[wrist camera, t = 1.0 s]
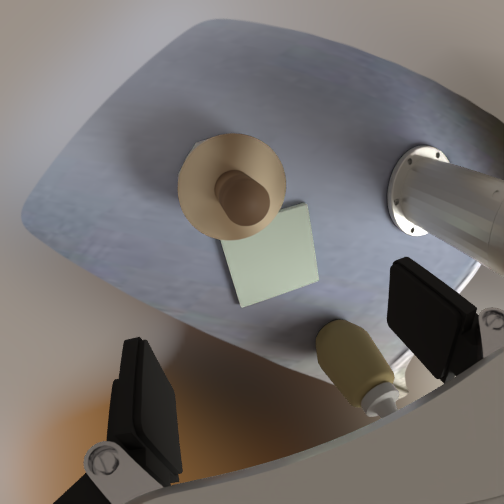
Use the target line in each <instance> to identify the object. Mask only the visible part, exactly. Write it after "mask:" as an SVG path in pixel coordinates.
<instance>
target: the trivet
mask: <svg viewBox="0 0 504 504" xmlns="http://www.w3.org/2000/svg"><path fill="white" fill-rule="evenodd" d="M220 241H221V244H222V247H223V251H224V254H225V257H226V261H227V264H228V267H229V271H230V274H231V277H232V280H233V284H234V287H235V290H236V293H237V296H238V300H239V303H240V306H241V308H243V307H246V306H249V305H252V304H255V303H258V302H261V301H263V300H266V299H269V298H272V297H275V296H278V295H281V294H284V293H286V292H289V291H292V290H295V289H298V288H300V287H303V286H306V285H309V284H311V283H314V282H317V281H319V278H318V271H317V263H316V256H315V250H314V243H313V237H312V230H311V224H310V218H309V212H308V206H307V204H306V203H301V204H298V205H294V206H291V207H287V208H284V209H281V210H279V212H278V214H277V215H276V217H275V218H274V219H273V220H272V222H271V223H270V224H269V225H268V226H266V227H265V228H264V229H263V230H261V231H260V232H258V233H256V234H254V235H252V236H250V237H247V238H244V239H240V240H220Z"/></svg>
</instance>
